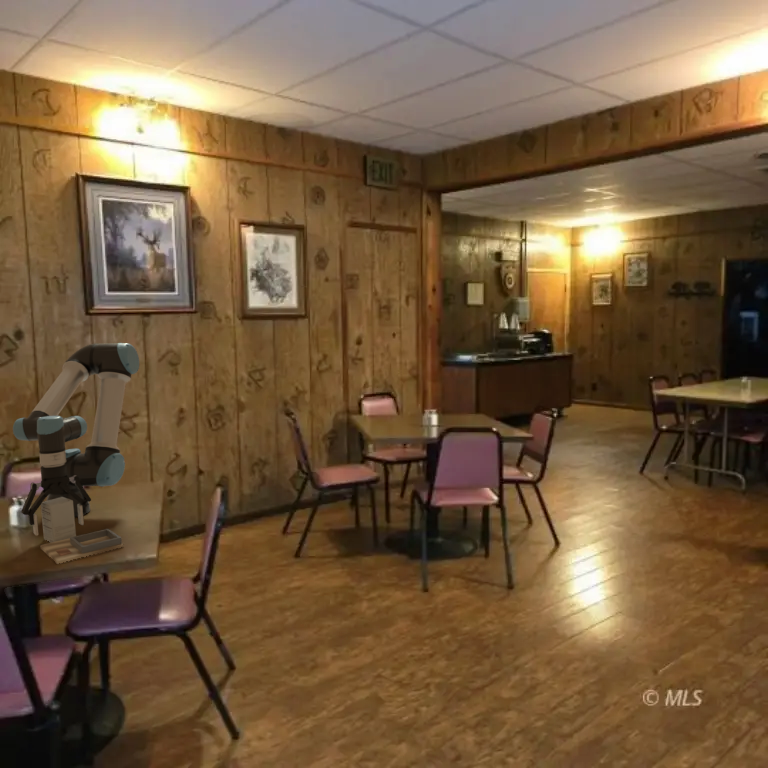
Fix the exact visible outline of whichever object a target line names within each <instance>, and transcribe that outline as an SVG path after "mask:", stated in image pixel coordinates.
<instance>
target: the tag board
mask: <svg viewBox="0 0 768 768" xmlns="http://www.w3.org/2000/svg"><path fill="white" fill-rule="evenodd" d="M109 539H111V538H109V537H108V536H104V537H100V538H96V539H92V540H88V541H84V542H80V543H81V544H82V545H83V546H85V545H89V544H93V543H97V542H101V541H105V540H109ZM39 546H40V550H41V551H43V552H44V553H45V554H46V555H47V556H48V557H49V558H50V557H51V558H52V559H53V560H54V561H55V564H57V565H60V564H64V563H67V562H66V561H68V562H71V561H70V560H72V561H74V560H73V559H76V560H78V559H77V558H80V559H82V558H81V557H84V558H86V556H87V557H90V556H89V555H91V556H94V555H93V554H95V555H98V554H97V553H99V554H102V553H101V552H103V553H106V552H105V551H107V552H110V551H109V550H111V551H114V550H117V549H116V548H118V549H122V548H124V543H122V544H118V545H115V546H111V547H107V548H103V549H99V550H95V551H91V552H87V553H83V554H82V553H81V552H80V551H79V550H77V549H76V548H75V547H74V546H72V545H71V544H70V538H69V539H64V540H60V541H56V542H52V543H51V542H48V543H44V544H43V543H42V544H40V545H39ZM121 547H122V548H121ZM113 549H114V550H113ZM51 558H50V559H51ZM52 559H51V560H52ZM53 560H52V561H53ZM54 561H53V562H54ZM63 562H64V563H63ZM59 563H60V564H59Z"/></svg>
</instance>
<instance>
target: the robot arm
mask: <svg viewBox="0 0 768 768" xmlns="http://www.w3.org/2000/svg"><path fill="white" fill-rule="evenodd" d="M139 369H140V358H139V353H138V352H137V349H136V348H135V346H133V344H131V343H126V342H125V343H124V342H118V343H117V342H116V343H115V342H113V343H112V342H111V343H109V342H108V343H91V344H87V345H84V346H82V347H81V348H79V349H77V350H76V351H75V352H74V353H73V354H71V355H70V356H69V357H68V358H67V359H66V360H65V362H64V363H63V365H62V371H61V372H60V373H59V375H58V376H57V377H56V379H55V380H54V381H53V382H52V384H51V385H50V387H49V388H48V390H46V392H45V394H44V395H43V396H42V397H41V399H39V401H38V403H37V404H36V405H35V407H34V408H33V410H32V411H31V412H30V413H29V415H28V416H27V417H21V418H17V419H16V420H14V422H13V426H12V433H13V435H14V437H15V438H16V439H17V440H19V441H29V442H30V441H38V442H37V443H38V448H39V450H38V454H39V464H40V477H41V481H40V482H31V483H30V489H29V492H28V494H27V497H26V499H25V501H24V504H23V506H22V508H21V511H20V512H21V514H23V515H24V516H27V517H28V524H29V525H30V526H32V532H33V534H34V536H39V527H38V526H39V525H38V516H37V514H36V512H37V510H38V509H39V507H41V503H42V502H44V500H45V499H46V501H48V500H52V499H56V498H60V497H64V498H67V499H70V500H73V508H74V518H78V519H77V520H78V524H80V525H81V526H84V522H85V521H84V515H87V514H89V512H91V504H90V502H91V501H92V498H91V497H90V495H89V494H88V492H87V491H86V489H85V488H84V487H108V486H114V485H116V484H118V483H119V481H120V480H121V479H122V477H123V475H124V473H125V468H126V467H125V466H126V461H125V457H124V455H123V454H121V449H120V448H119V447H118V436H119V431H120V425H121V424H120V423H121V417H122V412H123V404H124V397H125V392H126V385H127V383H129V382H130V381H132V379H131V378H132V375H135V374H137V373H138V371H139ZM92 375H93V376H94V375H97V377H98V379H100V386H99V392H98V398H97V403H96V411H95V417H94V422H93V423H94V424H93V430H92V436H91V441H90V443H89V444H87V446H85V449H84V450H85V451H84V452H82V451H81V449H80V448H69V449H66V443H68V442H70V441H74V440H77V439H80V438H82V437H83V436H84V435H85V434H86V433H87V431H88V423H87V420H85V419H84V418H83V417H82V416H80V415H72V416H68V417H63V416H60V415H59V414H61V412H62V410H63V409H64V408H65V406H66V404H67V403H69V400H70V399H71V397H72V396H73V395H74V393H75V392H76V390H77V389H78V388H79V386H80V385H81V383H82V382H85V381H87V380H88V379H89V377H90V376H92ZM40 488H42V490H41V492H40V494H39V495H38V497H37V498H36V499H35V501H34V498H35V497H36V494H37V491H38V490H39V489H40ZM33 501H34V502H33ZM86 513H87V514H86Z"/></svg>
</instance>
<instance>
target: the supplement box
mask: <svg viewBox="0 0 768 768" xmlns="http://www.w3.org/2000/svg"><path fill="white" fill-rule="evenodd" d="M40 513H41V523H42V533H43V540H44V541H46V540H47V542H48V541H49V542H48V543H52V542H56V541H60V540H64V539H69V538H71V537H75V536H77V531H76V522H75V519H76V518H75V517H74V508H73V500H70V499H67V498H64V497H60V498H56V499H52V500H48V501H47V500H45V501H43V502H42V503H41V505H40Z"/></svg>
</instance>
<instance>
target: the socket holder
mask: <svg viewBox="0 0 768 768" xmlns="http://www.w3.org/2000/svg"><path fill="white" fill-rule="evenodd" d="M104 536H108V537H109V538H111V539H109V540H105V541H101V542H97V543H93V544H89V545H85V546H83V545H82V544H81V543H80V542H84V541H88V540H92V539H96V538H100V537H104ZM70 544H71V545H72V546H74V547H75V548H76V549H77V550H79V551H80V552H81V553H82V554H83V553H87V552H91V551H95V550H99V549H103V548H107V547H111V546H115V545H118V544H123V541H122V537H121V536H120V535H119V534H117V533H116V532H114V531H112V530H111V529H109V528H105V529H101V530H96V531H93V532H89V533H84V534H78V535H76V536H75V537H71V538H70Z"/></svg>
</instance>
